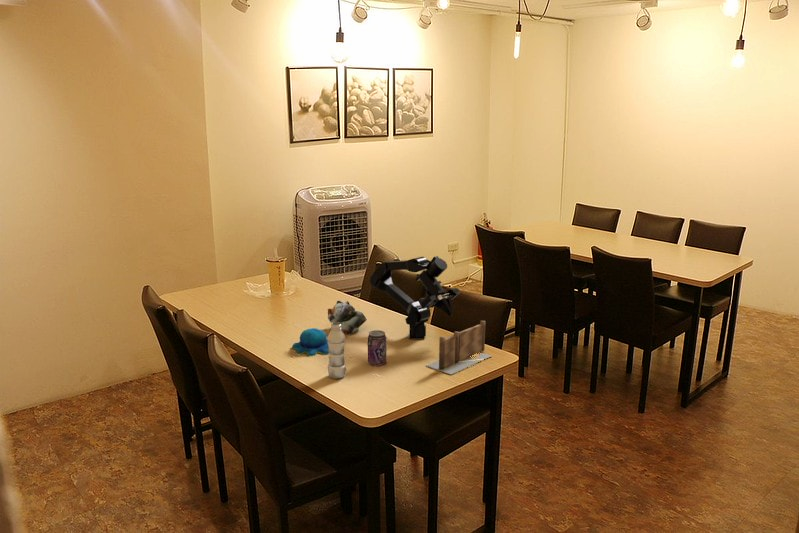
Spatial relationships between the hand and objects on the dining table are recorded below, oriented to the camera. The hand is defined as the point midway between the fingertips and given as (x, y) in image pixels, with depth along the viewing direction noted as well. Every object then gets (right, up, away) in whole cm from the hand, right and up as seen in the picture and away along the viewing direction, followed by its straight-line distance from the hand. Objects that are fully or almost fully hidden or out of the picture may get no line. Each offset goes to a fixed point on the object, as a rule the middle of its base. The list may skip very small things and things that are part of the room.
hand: (451, 315), depth 251 cm
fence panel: (+7, -15, -6) cm, 17 cm away
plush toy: (-55, -14, +2) cm, 57 cm away
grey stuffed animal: (-44, -8, +24) cm, 50 cm away
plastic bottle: (-43, -20, -26) cm, 54 cm away
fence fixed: (-2, -17, -16) cm, 24 cm away
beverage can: (-29, -17, -13) cm, 36 cm away
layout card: (+2, -17, -11) cm, 20 cm away
